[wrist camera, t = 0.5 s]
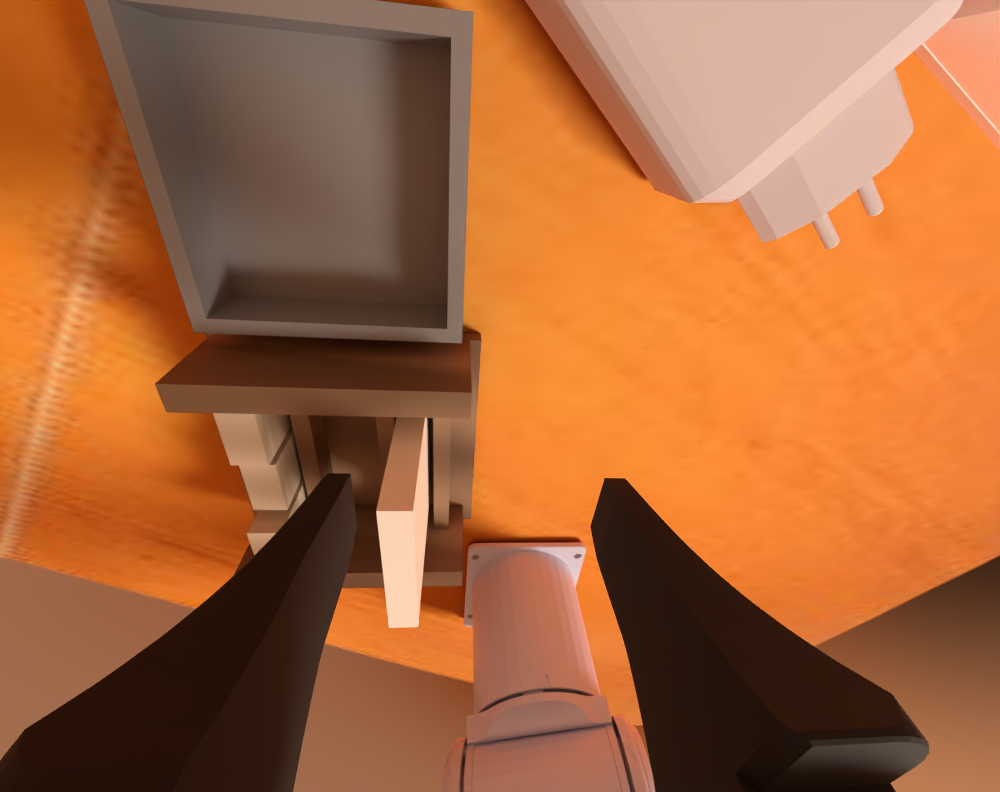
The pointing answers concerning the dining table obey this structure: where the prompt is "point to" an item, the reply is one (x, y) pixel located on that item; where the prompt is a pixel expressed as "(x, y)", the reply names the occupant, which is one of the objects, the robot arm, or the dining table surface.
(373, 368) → the rack
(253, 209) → the tray
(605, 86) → the charger
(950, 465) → the dining table surface
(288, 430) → the offcuts
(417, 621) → the sheet
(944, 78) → the white lidded square jar
